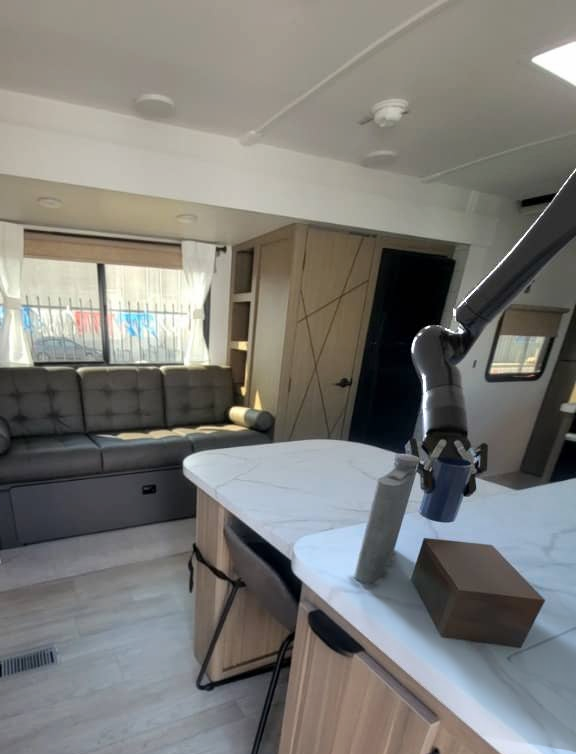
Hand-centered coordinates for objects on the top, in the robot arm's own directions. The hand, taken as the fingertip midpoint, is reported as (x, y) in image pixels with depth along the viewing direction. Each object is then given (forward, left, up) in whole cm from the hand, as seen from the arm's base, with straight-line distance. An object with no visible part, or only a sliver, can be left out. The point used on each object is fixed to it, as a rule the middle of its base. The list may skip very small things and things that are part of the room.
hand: (448, 493), depth 74 cm
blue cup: (0, -2, -5) cm, 6 cm away
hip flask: (+12, +9, -11) cm, 19 cm away
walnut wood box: (+3, +20, -11) cm, 23 cm away
